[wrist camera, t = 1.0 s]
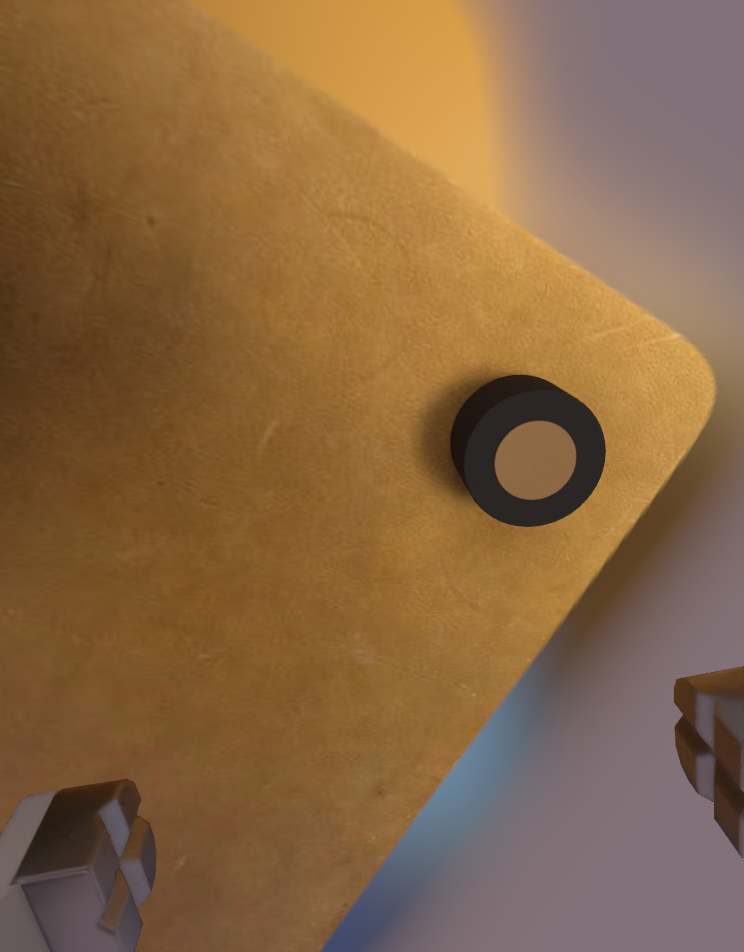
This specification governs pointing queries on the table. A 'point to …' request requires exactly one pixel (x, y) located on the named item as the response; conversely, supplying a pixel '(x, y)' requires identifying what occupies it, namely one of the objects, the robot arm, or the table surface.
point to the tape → (527, 450)
